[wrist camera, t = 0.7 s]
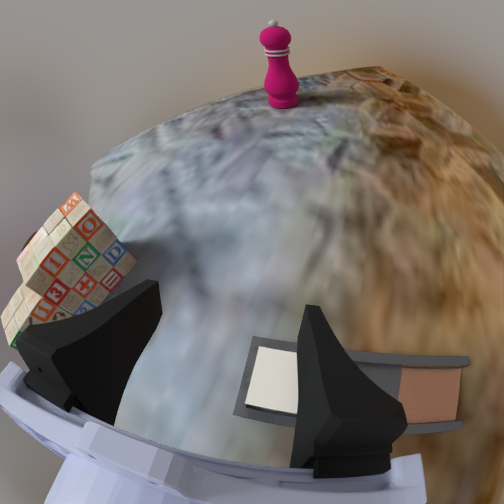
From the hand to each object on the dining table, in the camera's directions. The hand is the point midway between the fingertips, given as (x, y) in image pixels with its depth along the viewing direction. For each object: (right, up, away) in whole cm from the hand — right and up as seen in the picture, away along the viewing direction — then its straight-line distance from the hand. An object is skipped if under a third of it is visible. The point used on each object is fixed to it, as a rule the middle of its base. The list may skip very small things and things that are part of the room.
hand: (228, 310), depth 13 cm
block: (+4, -11, +12) cm, 17 cm away
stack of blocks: (-24, -5, +21) cm, 32 cm away
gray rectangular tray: (+12, -12, +10) cm, 20 cm away
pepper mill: (+8, +35, +40) cm, 54 cm away
